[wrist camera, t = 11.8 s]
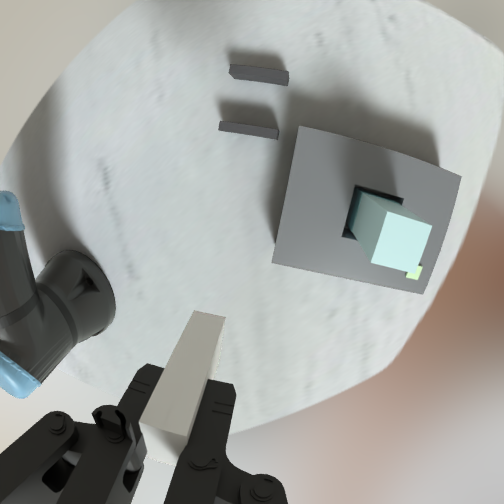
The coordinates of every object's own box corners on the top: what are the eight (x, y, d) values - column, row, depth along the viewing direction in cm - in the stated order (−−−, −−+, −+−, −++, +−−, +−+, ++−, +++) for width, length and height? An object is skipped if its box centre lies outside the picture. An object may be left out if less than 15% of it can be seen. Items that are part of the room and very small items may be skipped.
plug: (345, 221, 31) (369, 263, 20) (354, 186, 30) (386, 210, 19) (377, 230, 31) (415, 274, 20) (387, 196, 29) (432, 225, 18)
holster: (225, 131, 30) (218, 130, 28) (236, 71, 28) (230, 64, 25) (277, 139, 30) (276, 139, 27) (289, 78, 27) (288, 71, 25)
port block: (275, 246, 35) (271, 263, 30) (298, 128, 29) (299, 125, 24) (409, 276, 33) (423, 295, 28) (441, 171, 28) (462, 176, 23)
